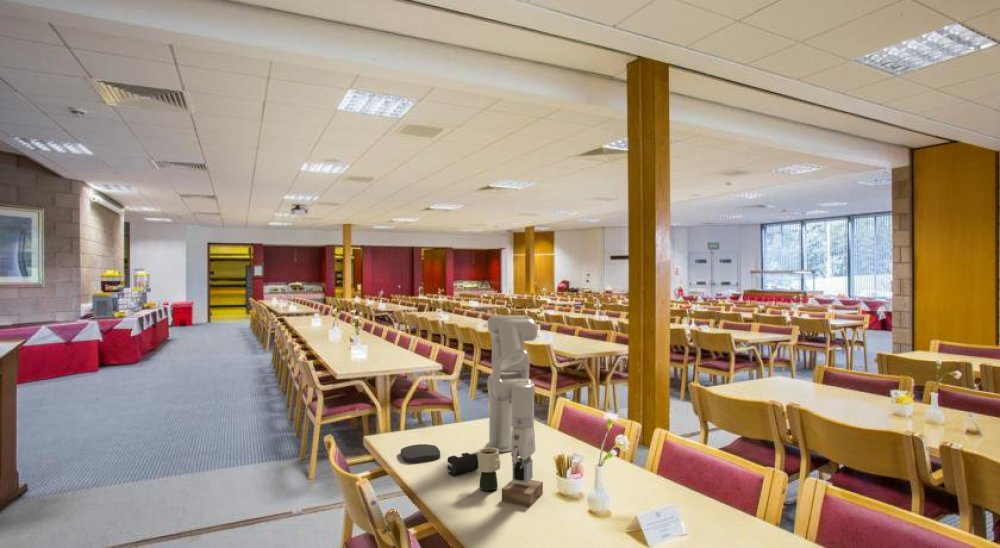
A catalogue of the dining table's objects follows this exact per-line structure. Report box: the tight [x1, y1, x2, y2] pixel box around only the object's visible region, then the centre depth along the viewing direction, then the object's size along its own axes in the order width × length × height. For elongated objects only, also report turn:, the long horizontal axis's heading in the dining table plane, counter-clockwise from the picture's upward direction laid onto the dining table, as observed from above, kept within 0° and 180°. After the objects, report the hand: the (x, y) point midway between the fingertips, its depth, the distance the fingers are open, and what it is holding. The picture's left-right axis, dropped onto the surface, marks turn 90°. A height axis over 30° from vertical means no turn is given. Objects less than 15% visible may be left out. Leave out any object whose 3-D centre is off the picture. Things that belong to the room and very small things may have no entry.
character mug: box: [477, 447, 501, 491], centre depth 181 cm, size 11×7×13 cm, turn 43°
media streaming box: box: [400, 443, 441, 464], centre depth 214 cm, size 15×15×3 cm
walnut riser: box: [501, 479, 544, 508], centre depth 174 cm, size 11×10×4 cm
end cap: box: [446, 452, 479, 478], centre depth 195 cm, size 10×7×7 cm
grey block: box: [512, 458, 534, 483], centre depth 174 cm, size 5×5×6 cm
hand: (522, 476), depth 174 cm, fingers closed on grey block, 5 cm apart
